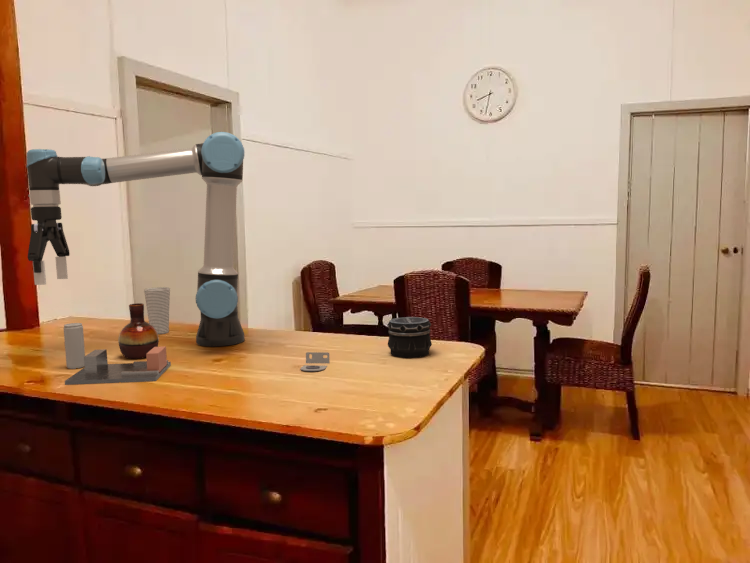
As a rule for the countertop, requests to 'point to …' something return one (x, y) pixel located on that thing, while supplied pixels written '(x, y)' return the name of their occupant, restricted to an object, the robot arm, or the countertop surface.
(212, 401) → the countertop surface
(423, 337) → the container
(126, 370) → the grey vise base
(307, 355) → the bracket
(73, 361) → the beverage can
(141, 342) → the vase
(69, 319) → the countertop surface
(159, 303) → the cup
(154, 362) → the block
